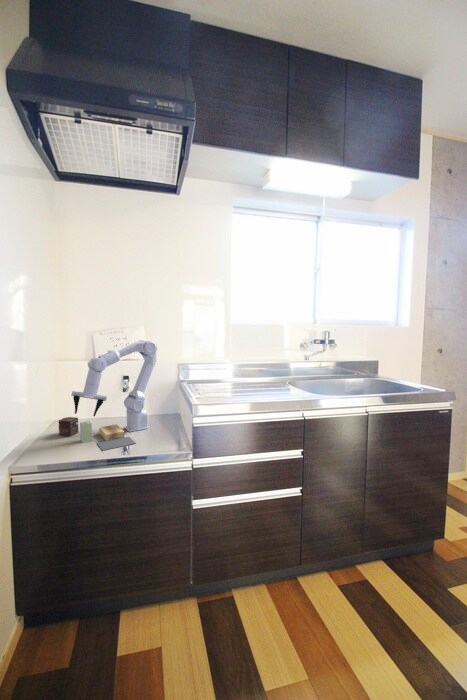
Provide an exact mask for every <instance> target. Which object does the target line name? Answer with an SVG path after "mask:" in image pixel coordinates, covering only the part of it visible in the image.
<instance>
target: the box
mask: <svg viewBox="0 0 467 700" xmlns="http://www.w3.org/2000/svg"><path fill="white" fill-rule="evenodd" d="M79 431H80V430H79V417H74V416H73V417H71V416H66V417H63V418H62V419H61V418H60V419H59V420H58V435H59V436H61V437H72V436H75V435H76V434H78V433H79Z"/></svg>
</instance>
